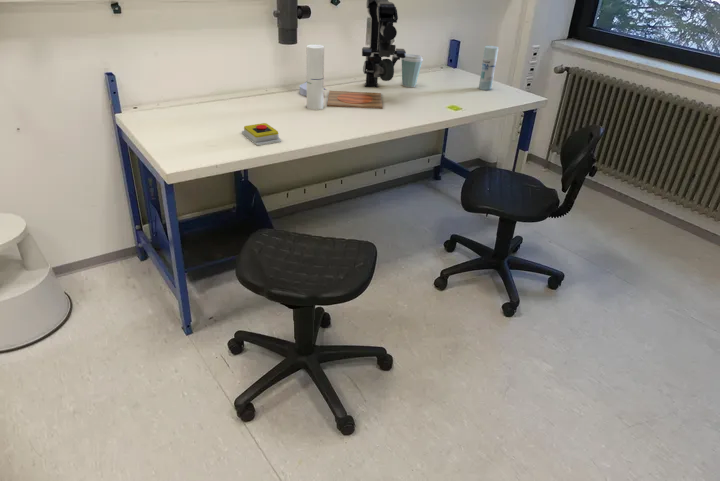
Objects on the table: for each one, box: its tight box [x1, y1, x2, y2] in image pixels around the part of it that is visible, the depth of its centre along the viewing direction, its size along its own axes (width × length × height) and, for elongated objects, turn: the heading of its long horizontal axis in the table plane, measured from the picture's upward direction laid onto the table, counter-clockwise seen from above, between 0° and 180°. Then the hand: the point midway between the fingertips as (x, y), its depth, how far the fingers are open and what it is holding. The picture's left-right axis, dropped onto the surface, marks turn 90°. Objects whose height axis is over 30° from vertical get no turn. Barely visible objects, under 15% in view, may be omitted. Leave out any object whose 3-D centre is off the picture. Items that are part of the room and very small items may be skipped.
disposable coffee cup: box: [400, 53, 424, 88], centre depth 262 cm, size 11×11×15 cm
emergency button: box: [241, 122, 281, 147], centre depth 194 cm, size 9×4×15 cm
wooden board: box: [326, 90, 384, 110], centre depth 240 cm, size 22×24×1 cm
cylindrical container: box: [305, 43, 325, 111], centre depth 223 cm, size 7×7×25 cm
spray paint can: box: [478, 45, 499, 91], centre depth 263 cm, size 6×6×20 cm
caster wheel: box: [374, 58, 395, 82], centre depth 234 cm, size 6×10×15 cm
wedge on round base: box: [299, 80, 327, 97], centre depth 244 cm, size 9×7×13 cm
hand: (382, 72), depth 236 cm, fingers closed on caster wheel, 7 cm apart
